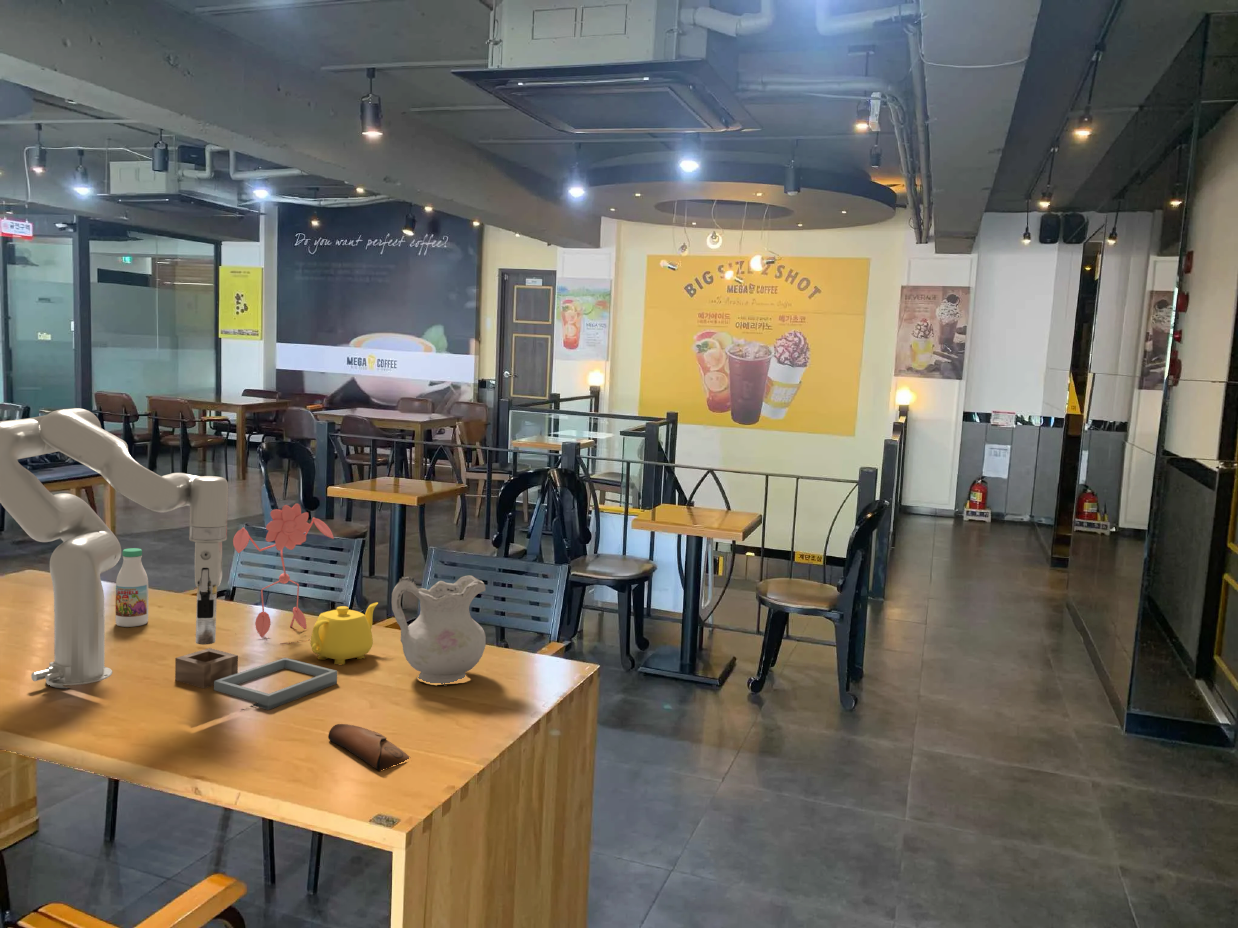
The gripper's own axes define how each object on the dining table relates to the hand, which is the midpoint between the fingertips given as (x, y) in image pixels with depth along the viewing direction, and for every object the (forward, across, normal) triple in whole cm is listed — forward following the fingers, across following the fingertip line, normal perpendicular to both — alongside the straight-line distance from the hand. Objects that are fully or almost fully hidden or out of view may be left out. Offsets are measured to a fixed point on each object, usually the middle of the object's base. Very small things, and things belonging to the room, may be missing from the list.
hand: (206, 613), depth 207 cm
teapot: (+16, +15, -31) cm, 38 cm away
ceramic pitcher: (+15, -5, -51) cm, 53 cm away
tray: (+15, -6, -15) cm, 23 cm away
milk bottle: (+16, +51, +22) cm, 58 cm away
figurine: (+16, +34, -17) cm, 41 cm away
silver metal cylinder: (+6, 0, 0) cm, 6 cm away
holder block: (+16, 0, 0) cm, 16 cm away
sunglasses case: (+16, -44, -33) cm, 57 cm away
